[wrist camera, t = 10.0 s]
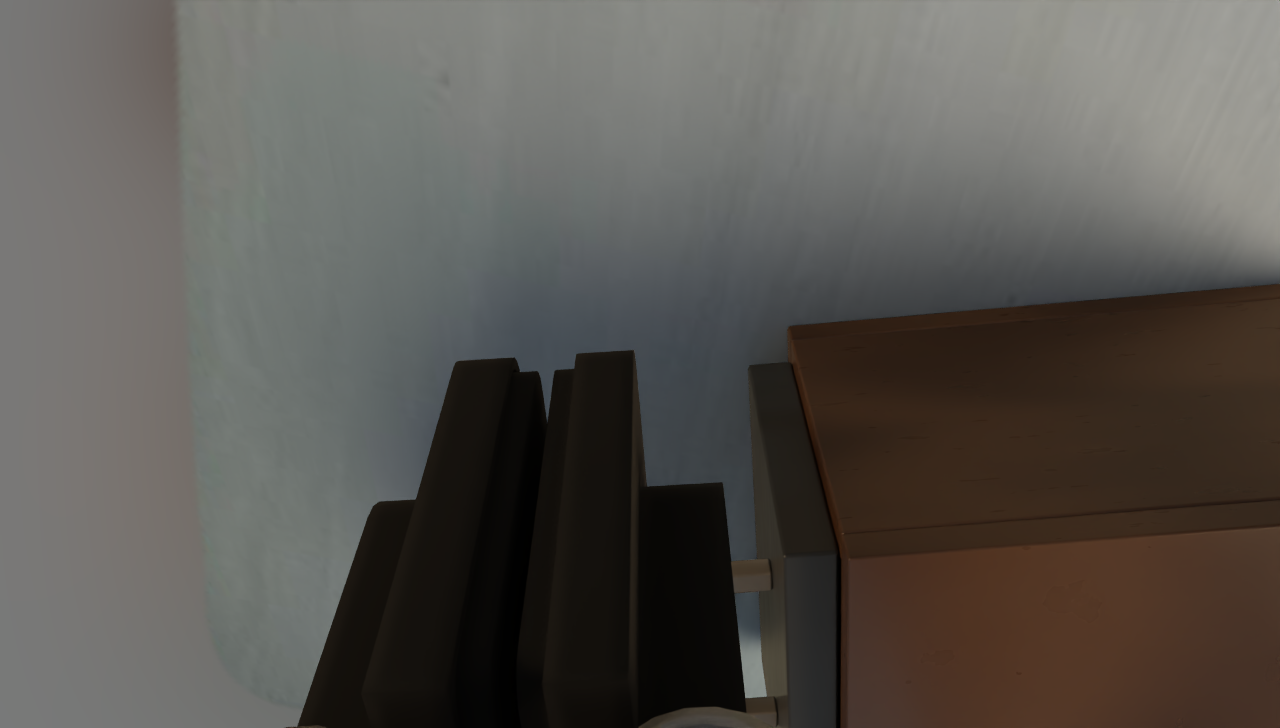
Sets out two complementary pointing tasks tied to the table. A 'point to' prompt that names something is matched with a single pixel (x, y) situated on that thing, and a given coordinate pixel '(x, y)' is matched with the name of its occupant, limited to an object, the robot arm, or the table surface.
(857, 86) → the table surface
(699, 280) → the table surface
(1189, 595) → the cabinet
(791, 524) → the drawer
